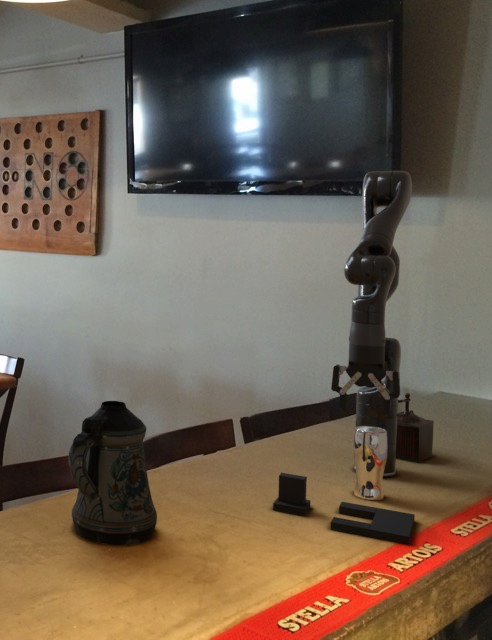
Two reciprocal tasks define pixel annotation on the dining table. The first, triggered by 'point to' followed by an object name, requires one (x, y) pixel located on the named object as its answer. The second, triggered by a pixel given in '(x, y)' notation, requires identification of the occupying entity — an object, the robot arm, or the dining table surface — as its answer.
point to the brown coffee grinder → (413, 435)
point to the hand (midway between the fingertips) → (364, 413)
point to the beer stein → (112, 478)
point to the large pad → (375, 523)
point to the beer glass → (370, 461)
